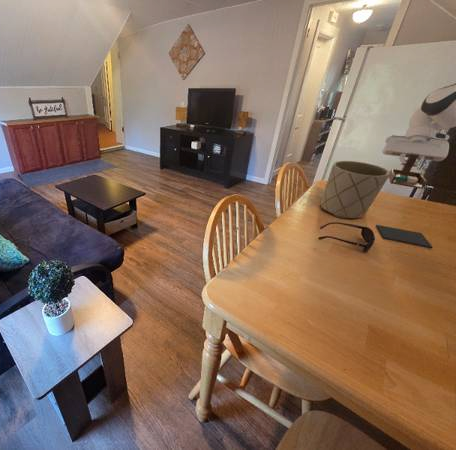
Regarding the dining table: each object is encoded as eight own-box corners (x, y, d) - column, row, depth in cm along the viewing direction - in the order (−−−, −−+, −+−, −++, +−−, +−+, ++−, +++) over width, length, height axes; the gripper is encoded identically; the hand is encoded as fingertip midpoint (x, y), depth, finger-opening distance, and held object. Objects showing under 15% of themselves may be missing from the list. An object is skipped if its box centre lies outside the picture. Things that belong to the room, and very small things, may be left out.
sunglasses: (371, 257, 82) (378, 245, 80) (317, 242, 89) (322, 231, 87) (367, 238, 92) (373, 226, 89) (319, 226, 99) (323, 215, 96)
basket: (387, 173, 112) (398, 151, 107) (416, 178, 107) (430, 155, 102) (390, 183, 102) (403, 159, 97) (422, 189, 97) (437, 164, 92)
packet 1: (394, 177, 106) (396, 174, 106) (403, 178, 105) (405, 175, 104) (395, 180, 104) (397, 176, 103) (404, 181, 102) (406, 178, 101)
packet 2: (405, 179, 105) (407, 175, 104) (414, 180, 103) (416, 177, 102) (406, 181, 102) (408, 178, 101) (416, 183, 100) (418, 180, 100)
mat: (420, 234, 94) (421, 232, 94) (431, 248, 87) (432, 247, 86) (376, 225, 99) (376, 224, 99) (383, 238, 92) (383, 237, 91)
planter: (308, 201, 118) (323, 161, 107) (346, 200, 119) (365, 160, 108) (334, 222, 102) (355, 176, 91) (378, 221, 102) (404, 176, 92)
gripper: (390, 130, 109) (381, 157, 108) (455, 136, 99) (446, 165, 98) (384, 138, 115) (376, 164, 113) (445, 145, 105) (436, 173, 103)
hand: (409, 165), depth 105 cm, fingers closed on basket, 2 cm apart
